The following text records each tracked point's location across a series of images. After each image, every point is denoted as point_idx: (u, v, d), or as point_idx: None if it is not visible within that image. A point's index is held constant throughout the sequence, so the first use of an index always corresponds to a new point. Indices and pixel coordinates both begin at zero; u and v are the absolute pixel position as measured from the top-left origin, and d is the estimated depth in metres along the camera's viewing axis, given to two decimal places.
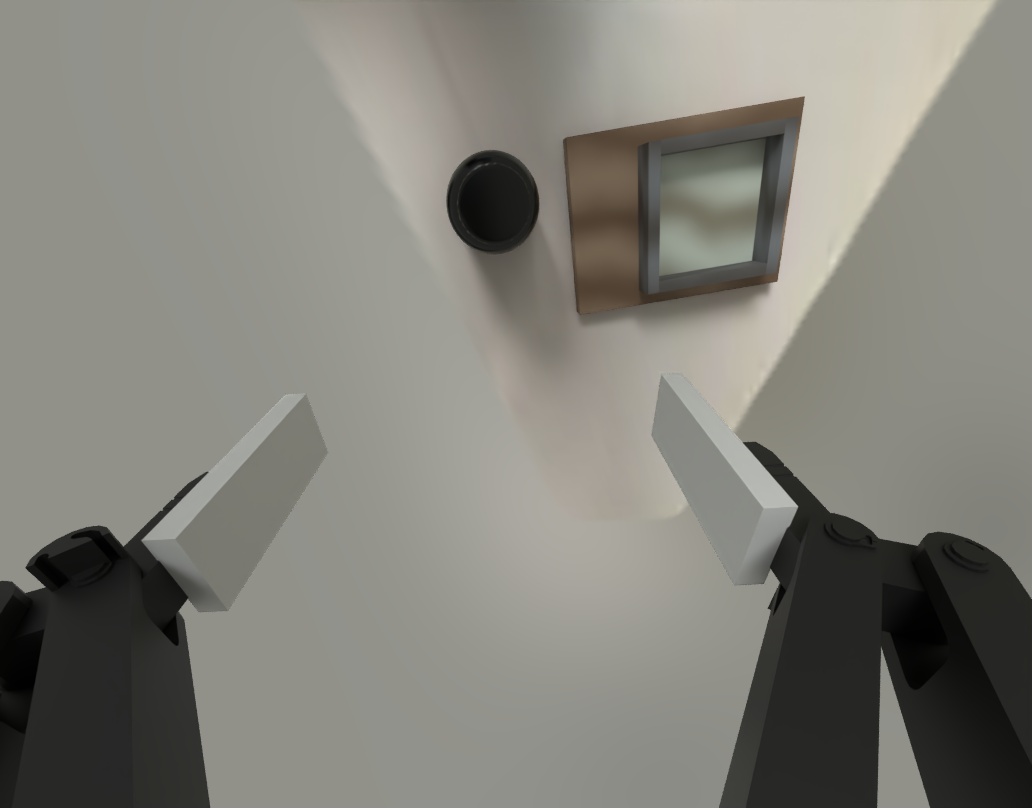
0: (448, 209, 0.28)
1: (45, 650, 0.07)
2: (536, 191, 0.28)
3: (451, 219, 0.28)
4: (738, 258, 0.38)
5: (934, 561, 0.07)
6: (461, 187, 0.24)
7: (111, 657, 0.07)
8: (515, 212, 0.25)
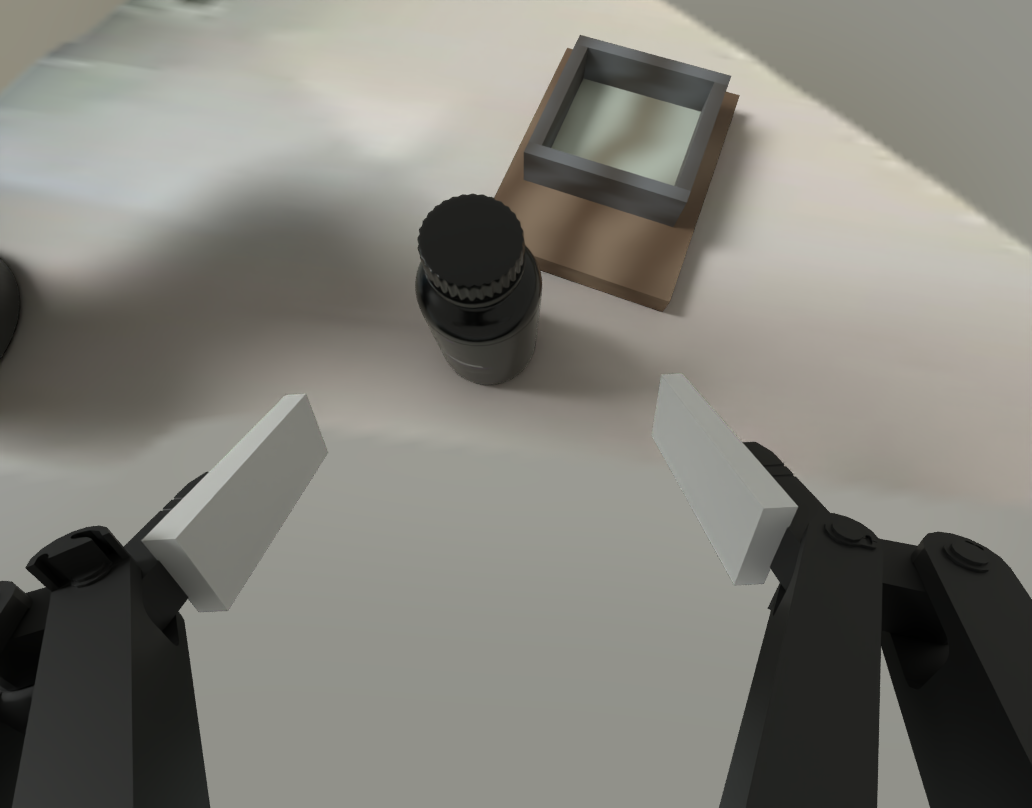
0: (449, 330, 0.20)
1: (45, 650, 0.07)
2: None
3: (461, 333, 0.20)
4: (691, 122, 0.31)
5: (934, 561, 0.07)
6: (426, 263, 0.17)
7: (111, 657, 0.07)
8: (494, 218, 0.17)
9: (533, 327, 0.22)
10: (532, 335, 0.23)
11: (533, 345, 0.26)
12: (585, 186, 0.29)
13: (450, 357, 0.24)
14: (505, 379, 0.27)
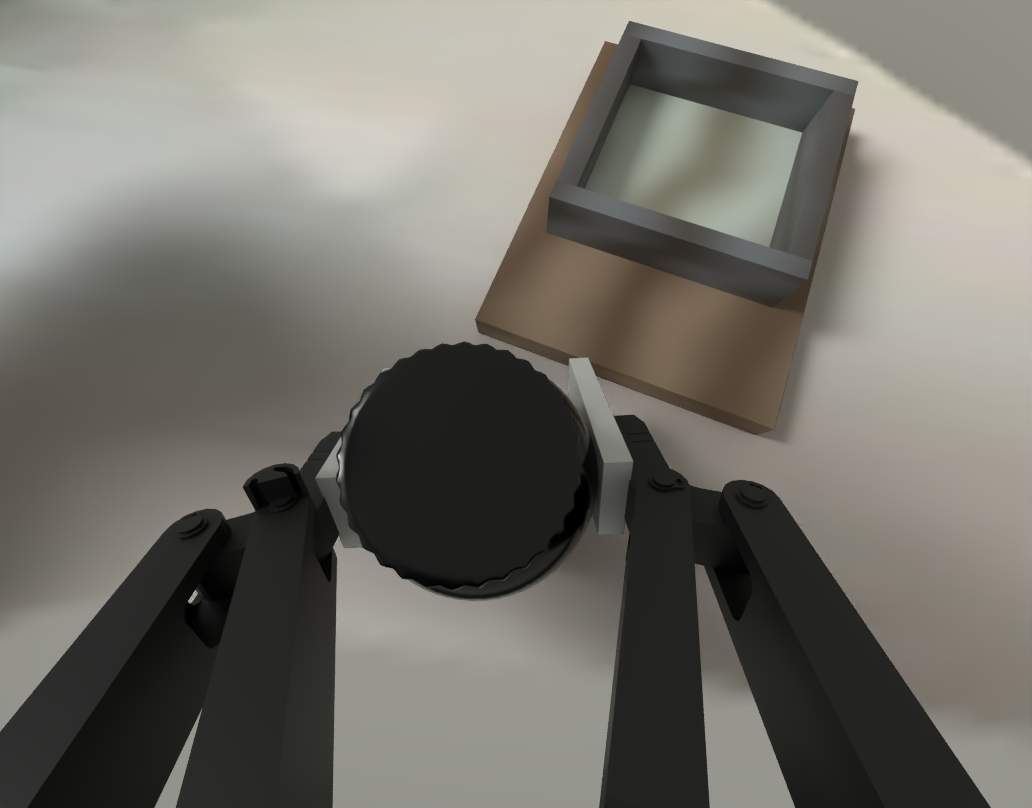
0: (420, 585, 0.10)
1: (245, 560, 0.08)
2: None
3: (443, 593, 0.10)
4: (789, 148, 0.21)
5: (732, 508, 0.09)
6: (352, 523, 0.07)
7: (285, 584, 0.08)
8: (513, 406, 0.08)
9: None
10: None
11: None
12: (641, 247, 0.19)
13: None
14: None
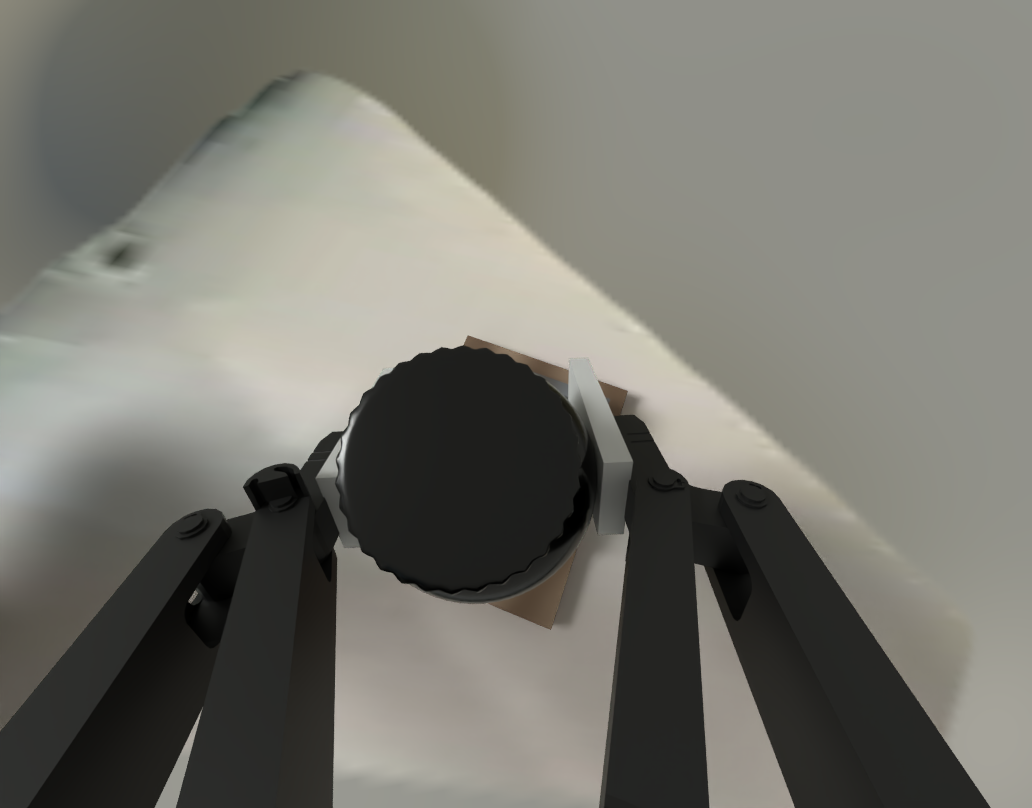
0: (419, 588, 0.10)
1: (245, 560, 0.08)
2: None
3: (443, 596, 0.10)
4: None
5: (732, 507, 0.09)
6: (352, 528, 0.07)
7: (285, 584, 0.08)
8: (512, 410, 0.08)
9: None
10: None
11: None
12: None
13: None
14: None
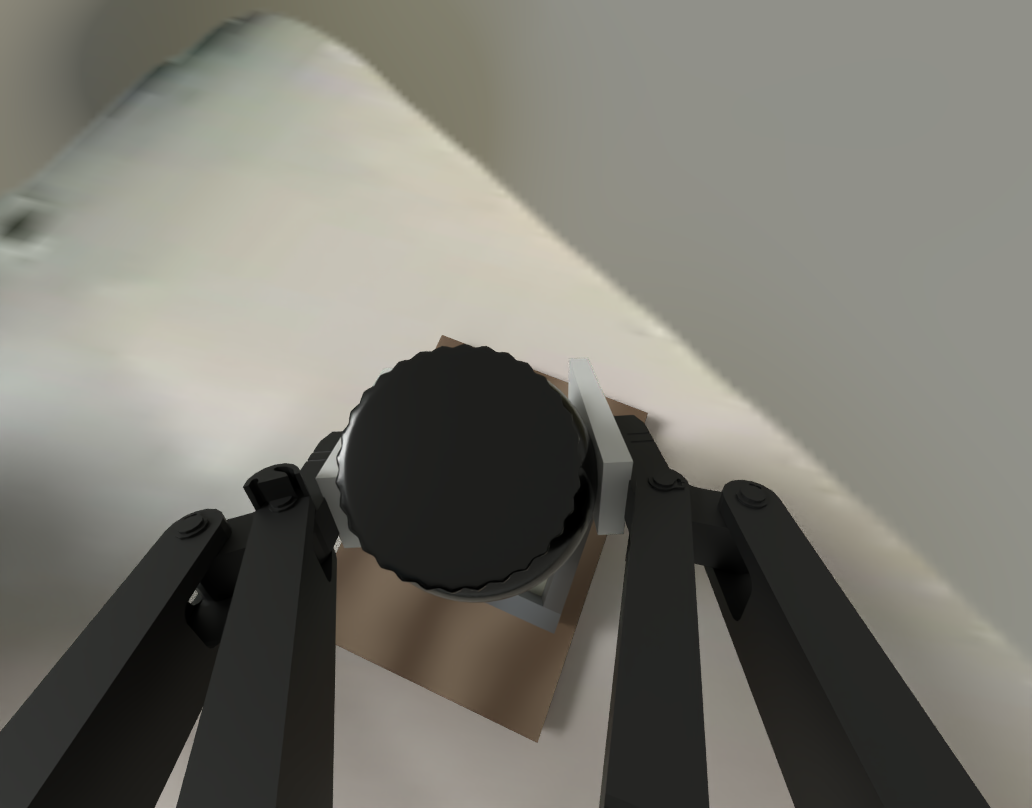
0: (420, 586, 0.10)
1: (245, 560, 0.08)
2: None
3: (443, 595, 0.10)
4: None
5: (732, 507, 0.09)
6: (352, 526, 0.07)
7: (285, 584, 0.08)
8: (513, 408, 0.08)
9: None
10: None
11: None
12: None
13: None
14: None
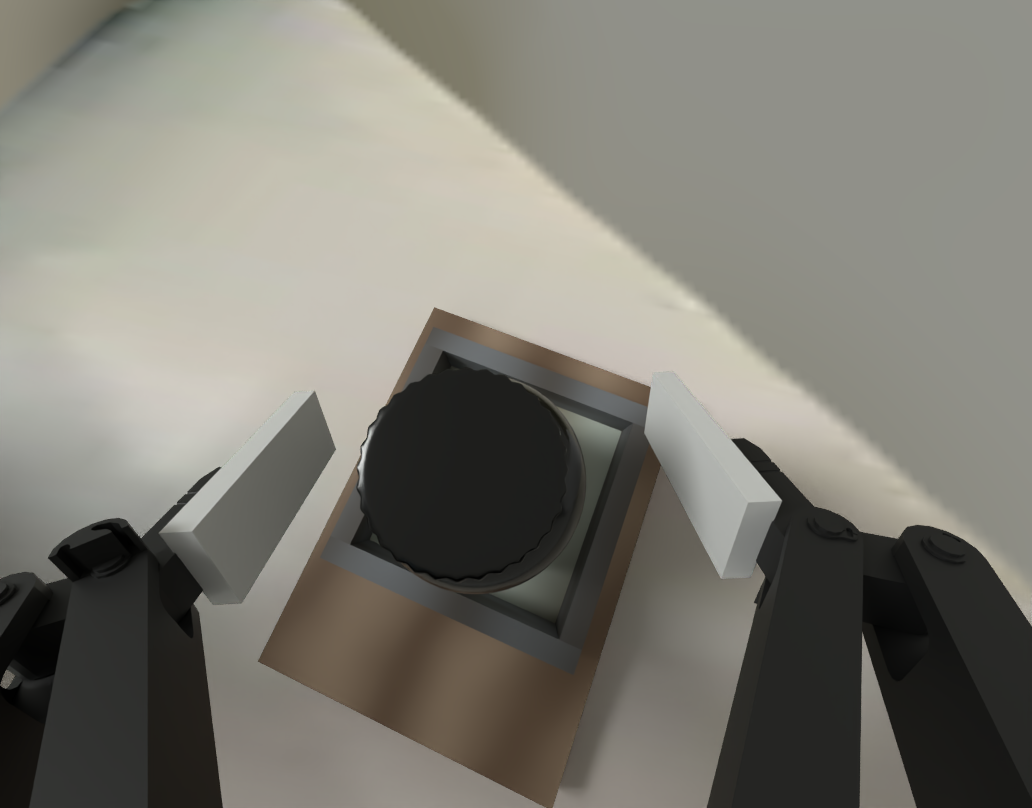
0: (426, 580, 0.11)
1: (66, 639, 0.07)
2: None
3: (448, 587, 0.11)
4: (605, 451, 0.21)
5: (913, 554, 0.07)
6: (371, 526, 0.08)
7: (129, 648, 0.07)
8: (509, 423, 0.09)
9: None
10: None
11: None
12: None
13: None
14: None
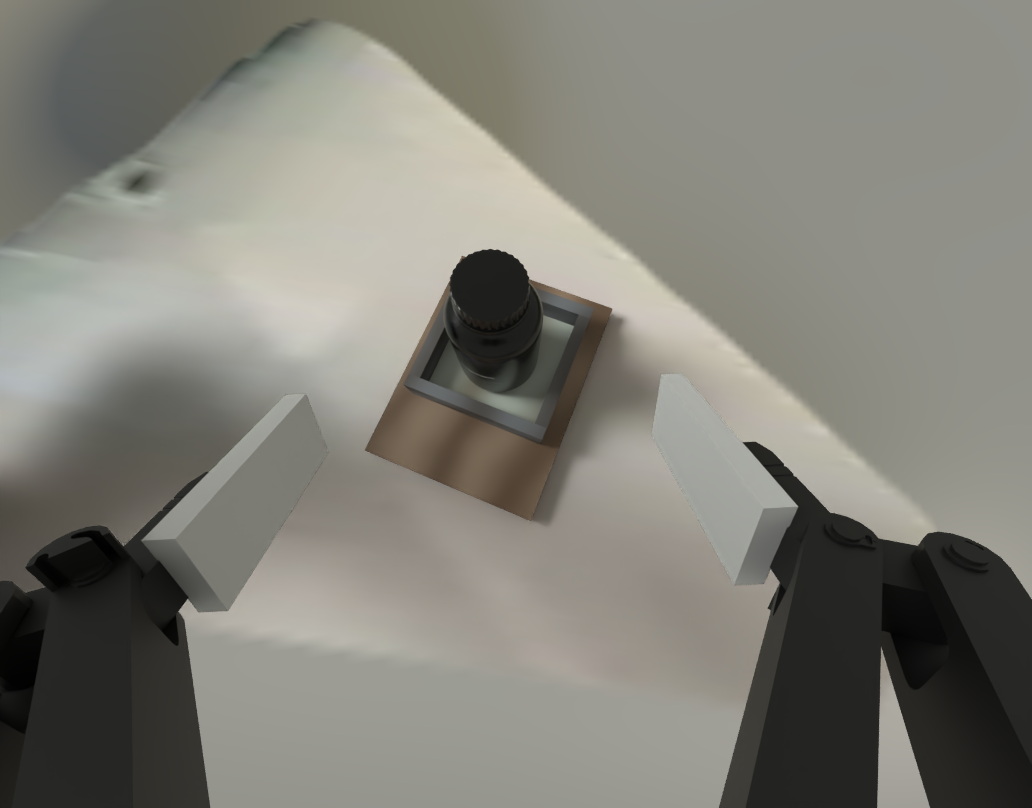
0: (471, 351, 0.25)
1: (45, 650, 0.07)
2: None
3: (480, 354, 0.25)
4: (565, 337, 0.35)
5: (934, 561, 0.07)
6: (455, 303, 0.22)
7: (111, 657, 0.07)
8: (507, 268, 0.23)
9: (536, 347, 0.28)
10: (535, 353, 0.29)
11: (536, 360, 0.31)
12: (461, 410, 0.32)
13: (468, 370, 0.30)
14: (513, 387, 0.32)
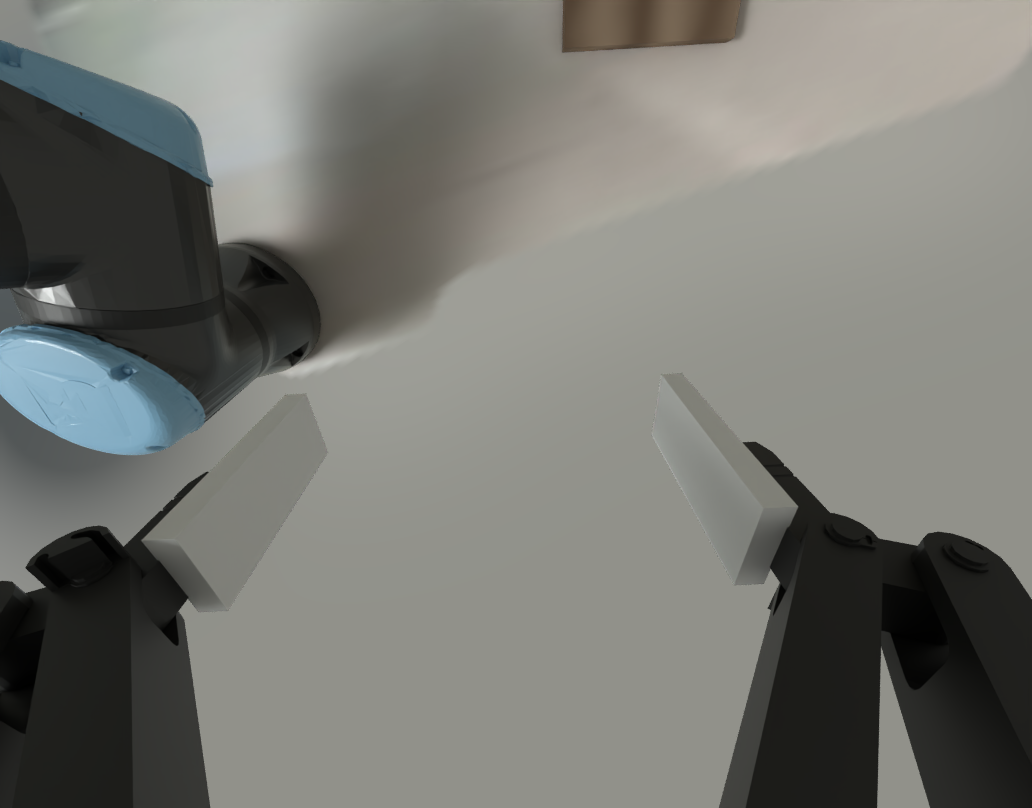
0: None
1: (45, 650, 0.07)
2: None
3: None
4: None
5: (934, 561, 0.07)
6: None
7: (111, 658, 0.07)
8: None
9: None
10: None
11: None
12: None
13: None
14: None
